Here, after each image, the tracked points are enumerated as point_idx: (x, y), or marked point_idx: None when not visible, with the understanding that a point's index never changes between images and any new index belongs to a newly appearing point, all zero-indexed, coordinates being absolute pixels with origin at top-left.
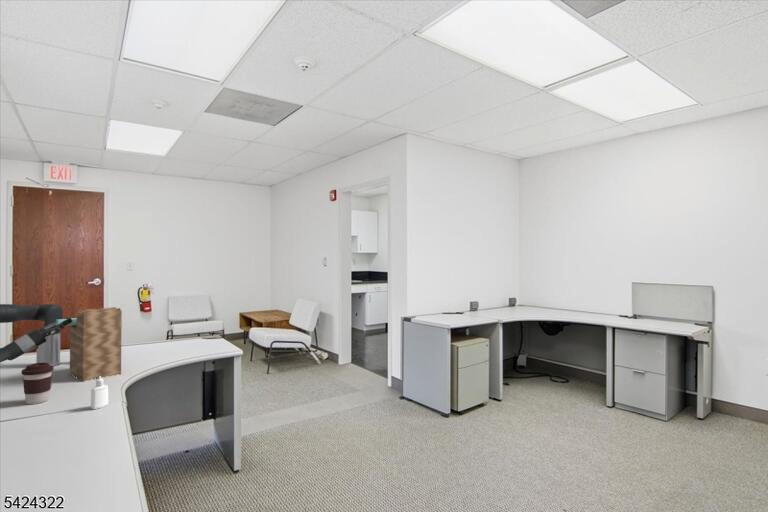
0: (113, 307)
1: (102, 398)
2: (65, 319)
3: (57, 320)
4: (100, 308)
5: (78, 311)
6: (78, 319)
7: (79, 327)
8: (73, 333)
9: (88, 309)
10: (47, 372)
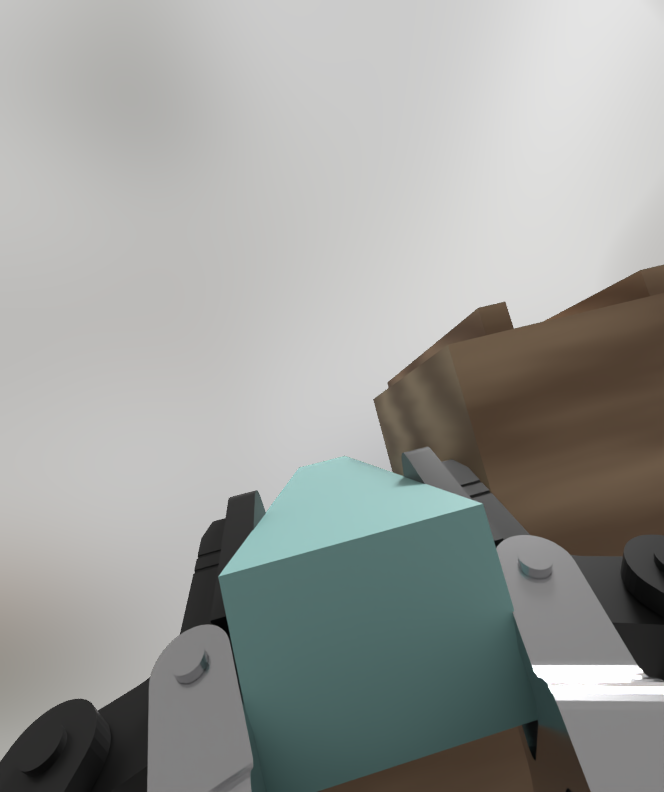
0: (390, 380)
1: None
2: (356, 500)
3: (375, 545)
4: (409, 364)
5: (509, 315)
6: (550, 422)
7: (629, 521)
8: None
9: (441, 340)
10: None
